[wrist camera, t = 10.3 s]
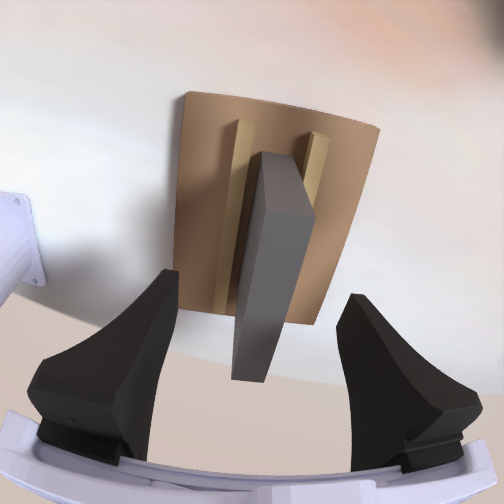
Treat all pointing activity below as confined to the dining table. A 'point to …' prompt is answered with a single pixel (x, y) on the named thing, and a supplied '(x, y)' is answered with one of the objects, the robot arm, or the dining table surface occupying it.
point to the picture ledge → (243, 186)
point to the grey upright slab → (270, 264)
